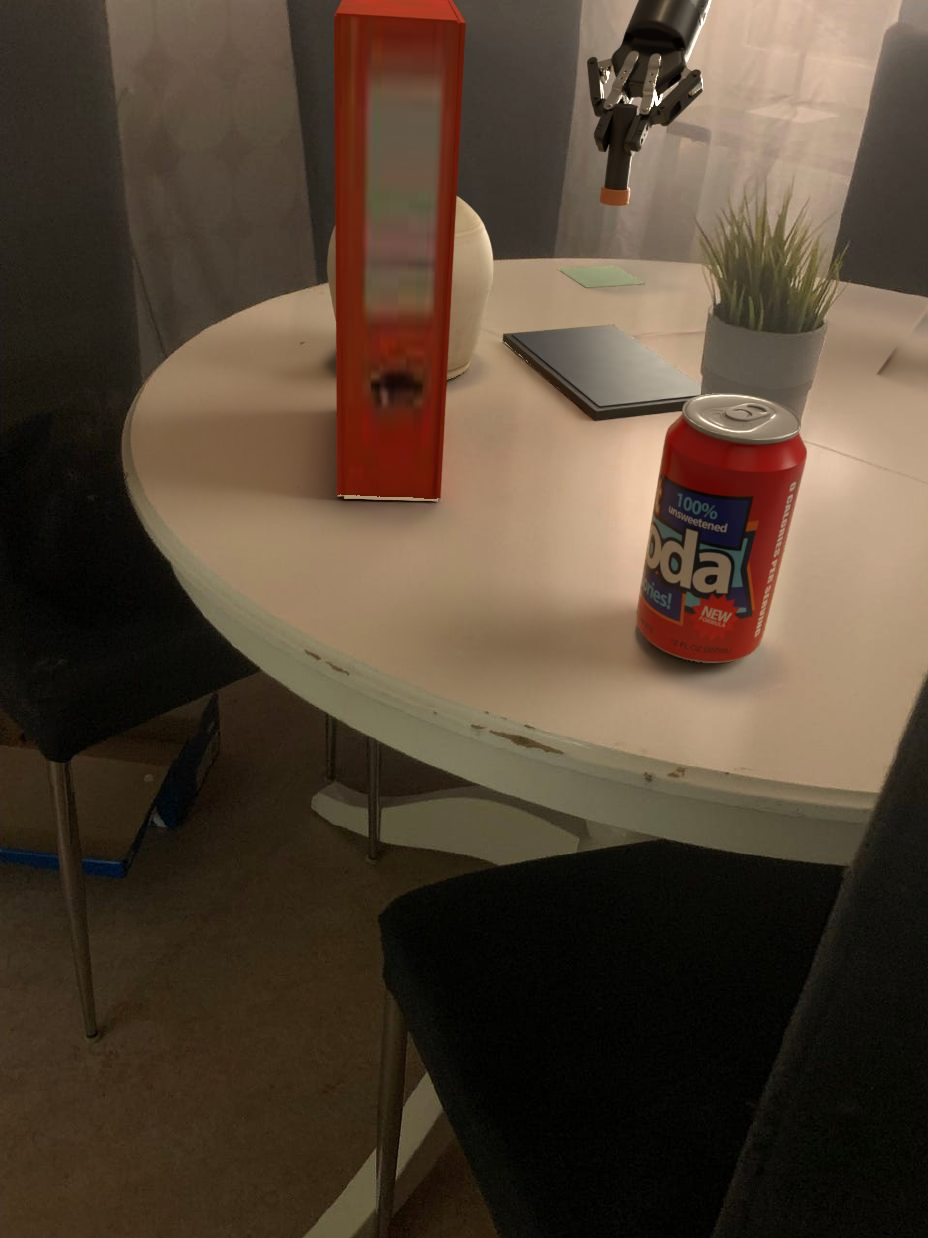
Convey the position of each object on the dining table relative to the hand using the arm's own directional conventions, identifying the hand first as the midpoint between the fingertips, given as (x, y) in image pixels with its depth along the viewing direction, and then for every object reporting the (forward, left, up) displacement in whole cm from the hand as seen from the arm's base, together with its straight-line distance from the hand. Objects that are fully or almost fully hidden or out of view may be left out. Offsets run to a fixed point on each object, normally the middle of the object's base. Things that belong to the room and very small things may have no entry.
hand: (614, 148), depth 116 cm
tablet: (+10, +21, -16) cm, 29 cm away
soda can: (+26, +64, -17) cm, 71 cm away
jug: (+28, +14, -17) cm, 35 cm away
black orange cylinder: (-1, -1, -6) cm, 6 cm away
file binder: (+36, +33, -17) cm, 52 cm away
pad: (-4, -7, -16) cm, 18 cm away
